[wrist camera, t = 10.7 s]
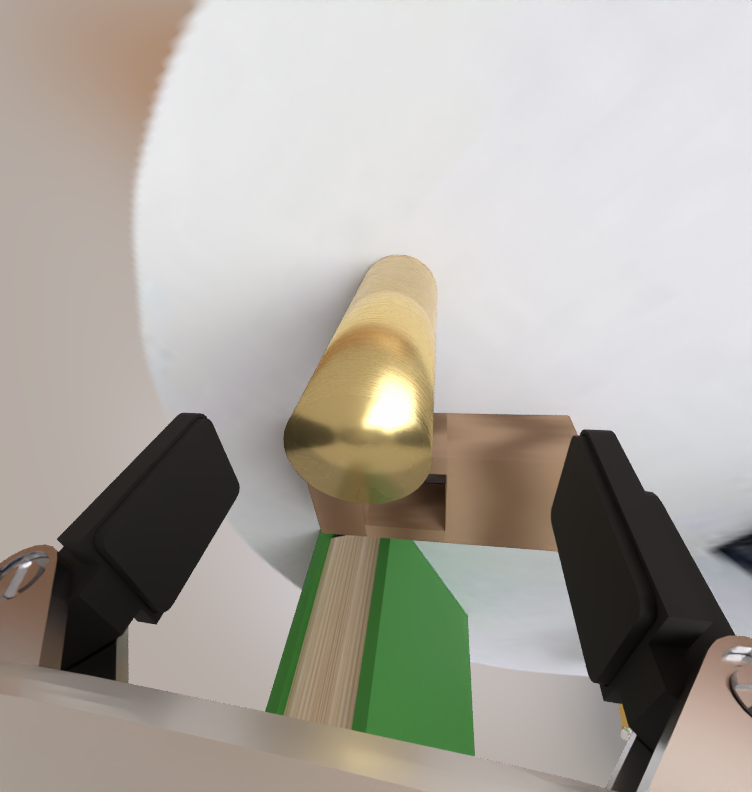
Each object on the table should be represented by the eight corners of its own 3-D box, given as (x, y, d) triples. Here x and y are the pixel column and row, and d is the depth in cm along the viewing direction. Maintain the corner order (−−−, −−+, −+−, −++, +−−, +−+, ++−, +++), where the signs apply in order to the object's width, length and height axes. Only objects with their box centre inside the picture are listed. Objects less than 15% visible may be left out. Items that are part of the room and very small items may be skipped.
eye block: (569, 415, 22) (590, 464, 19) (545, 501, 27) (560, 551, 24) (316, 411, 25) (298, 452, 22) (334, 489, 30) (321, 533, 26)
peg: (437, 252, 18) (431, 395, 8) (437, 327, 20) (432, 507, 11) (357, 257, 19) (266, 393, 9) (365, 329, 21) (300, 499, 11)
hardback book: (320, 529, 33) (155, 1074, 14) (393, 514, 30) (310, 1170, 11) (404, 620, 42) (371, 1043, 22) (467, 615, 39) (492, 1094, 20)
